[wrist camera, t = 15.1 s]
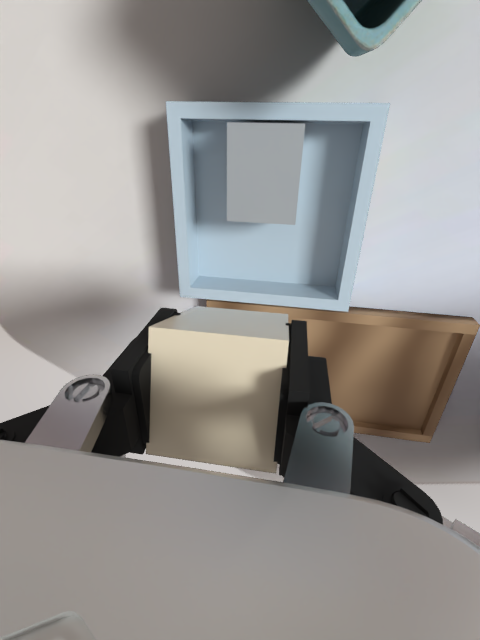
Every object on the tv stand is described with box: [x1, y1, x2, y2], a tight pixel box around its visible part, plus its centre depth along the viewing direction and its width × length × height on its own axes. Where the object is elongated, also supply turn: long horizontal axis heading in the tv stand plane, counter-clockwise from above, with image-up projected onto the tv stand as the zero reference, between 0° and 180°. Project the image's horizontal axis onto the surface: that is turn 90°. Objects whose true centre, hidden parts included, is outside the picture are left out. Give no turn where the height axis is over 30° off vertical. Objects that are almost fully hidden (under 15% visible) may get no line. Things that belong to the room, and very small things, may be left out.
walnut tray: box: [206, 299, 480, 443], centre depth 28 cm, size 20×12×1 cm, turn 89°
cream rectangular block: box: [146, 306, 289, 473], centre depth 12 cm, size 4×4×5 cm
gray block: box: [227, 122, 305, 225], centre depth 20 cm, size 4×4×5 cm
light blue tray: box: [166, 101, 390, 312], centre depth 22 cm, size 12×12×3 cm
